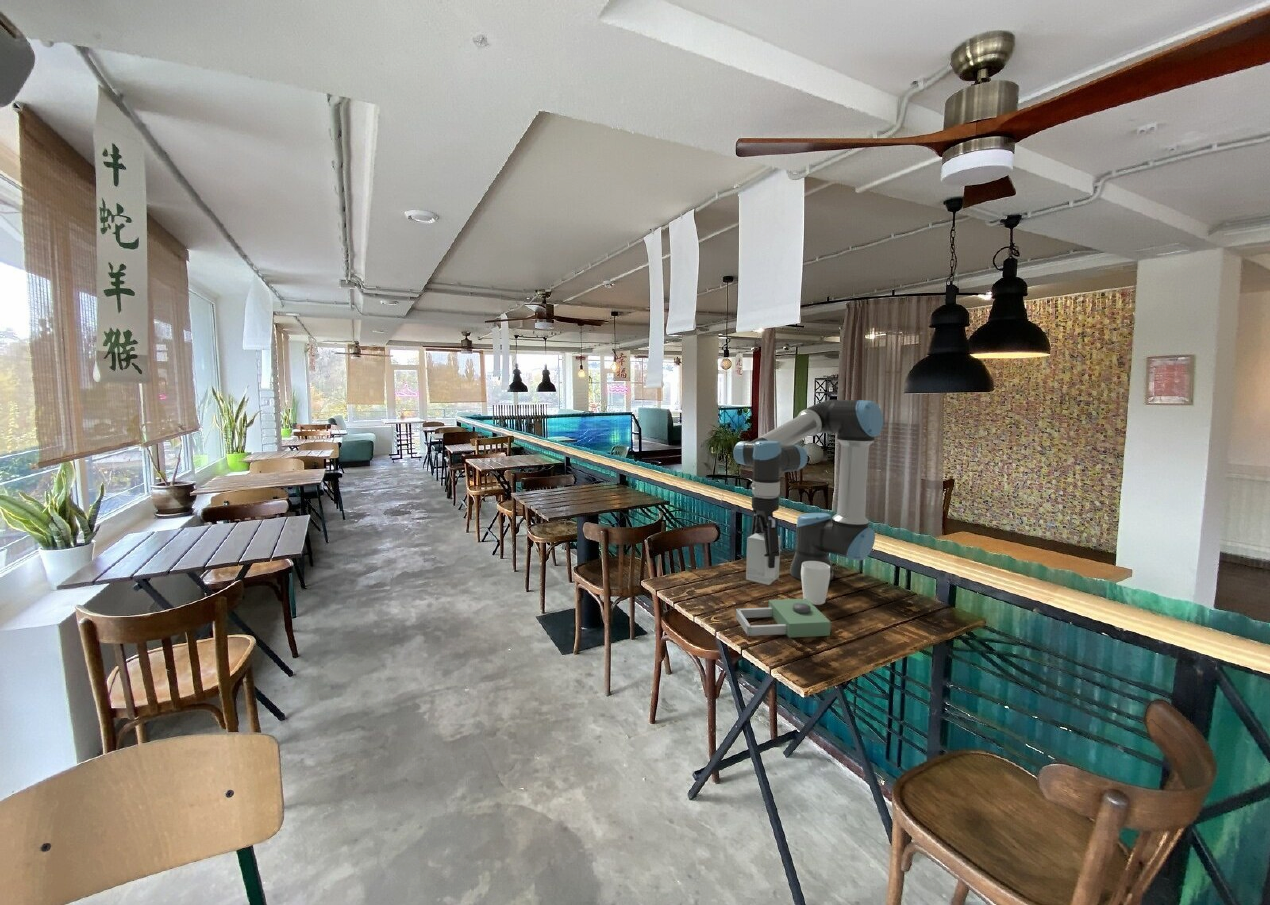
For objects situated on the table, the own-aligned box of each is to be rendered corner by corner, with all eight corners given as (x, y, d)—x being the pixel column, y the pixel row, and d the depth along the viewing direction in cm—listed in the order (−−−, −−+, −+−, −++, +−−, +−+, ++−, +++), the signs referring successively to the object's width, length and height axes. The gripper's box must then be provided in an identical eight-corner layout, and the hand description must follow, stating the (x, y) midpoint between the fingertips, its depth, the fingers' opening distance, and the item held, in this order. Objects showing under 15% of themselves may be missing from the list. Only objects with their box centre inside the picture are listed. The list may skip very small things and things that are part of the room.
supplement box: (769, 585, 142) (771, 541, 140) (745, 579, 146) (746, 537, 145) (779, 577, 148) (781, 535, 146) (755, 572, 152) (757, 531, 151)
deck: (805, 610, 158) (806, 594, 158) (830, 635, 142) (831, 617, 142) (733, 613, 156) (733, 597, 155) (750, 639, 140) (750, 621, 140)
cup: (831, 607, 160) (833, 571, 159) (801, 605, 162) (802, 569, 161) (826, 596, 169) (828, 561, 168) (798, 594, 171) (799, 559, 170)
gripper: (740, 488, 155) (738, 558, 157) (766, 504, 132) (763, 586, 135) (764, 487, 155) (762, 557, 158) (794, 504, 133) (791, 585, 136)
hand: (763, 571), depth 147 cm, fingers closed on supplement box, 10 cm apart
